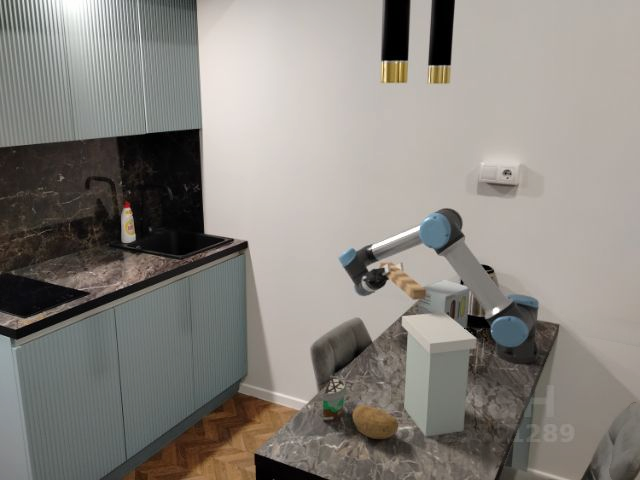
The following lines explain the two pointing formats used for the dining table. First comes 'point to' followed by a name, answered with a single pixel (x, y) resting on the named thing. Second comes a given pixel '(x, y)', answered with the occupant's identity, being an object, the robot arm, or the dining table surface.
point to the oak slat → (405, 282)
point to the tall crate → (436, 372)
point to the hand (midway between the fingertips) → (395, 266)
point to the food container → (333, 399)
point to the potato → (374, 422)
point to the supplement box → (446, 300)
